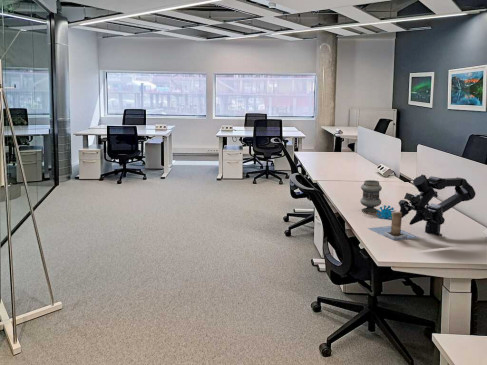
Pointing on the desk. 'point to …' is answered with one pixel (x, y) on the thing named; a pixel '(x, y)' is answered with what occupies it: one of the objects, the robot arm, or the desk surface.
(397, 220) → the tan wooden peg
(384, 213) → the blue virus model
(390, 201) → the desk surface
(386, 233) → the metal collar
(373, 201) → the apothecary jar
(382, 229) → the board
